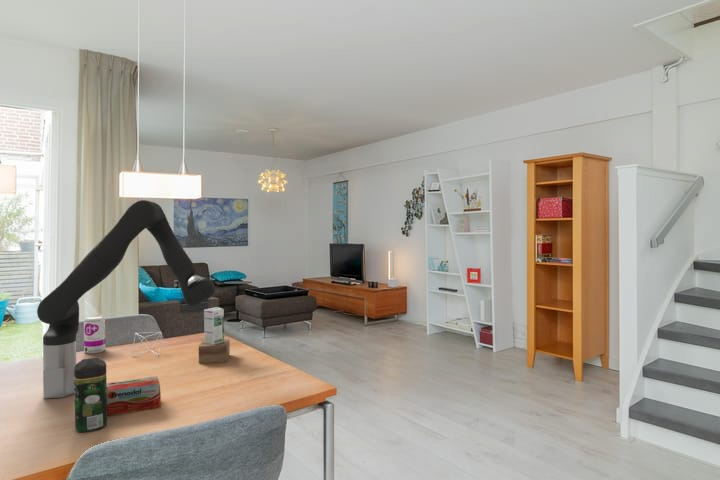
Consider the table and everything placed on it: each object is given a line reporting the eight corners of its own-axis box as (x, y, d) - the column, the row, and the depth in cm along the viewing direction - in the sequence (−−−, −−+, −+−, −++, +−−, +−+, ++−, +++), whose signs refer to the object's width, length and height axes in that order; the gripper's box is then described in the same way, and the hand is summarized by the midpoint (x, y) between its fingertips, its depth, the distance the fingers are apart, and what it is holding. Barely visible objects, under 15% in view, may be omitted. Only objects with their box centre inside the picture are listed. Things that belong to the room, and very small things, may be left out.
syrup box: (213, 345, 188) (213, 310, 188) (203, 343, 191) (203, 308, 191) (224, 342, 193) (224, 308, 193) (214, 340, 196) (214, 306, 196)
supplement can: (98, 353, 199) (98, 319, 198) (80, 353, 199) (79, 319, 199) (109, 348, 207) (108, 316, 207) (91, 348, 207) (90, 315, 207)
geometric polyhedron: (135, 359, 191) (136, 338, 191) (127, 354, 199) (127, 333, 199) (166, 354, 200) (166, 333, 199) (157, 349, 208) (157, 329, 207)
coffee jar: (74, 422, 130) (73, 358, 130) (106, 416, 134) (105, 354, 134) (74, 435, 122) (73, 367, 121) (108, 429, 126) (107, 362, 126)
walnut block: (226, 362, 188) (226, 345, 188) (198, 363, 186) (198, 346, 186) (229, 354, 199) (229, 338, 199) (203, 355, 197) (203, 339, 197)
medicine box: (158, 399, 148) (158, 375, 148) (161, 408, 141) (160, 382, 141) (105, 408, 141) (104, 382, 141) (105, 418, 134) (104, 391, 134)
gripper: (215, 275, 171) (211, 271, 186) (174, 276, 165) (173, 272, 180) (215, 295, 171) (211, 289, 186) (174, 297, 166) (173, 291, 180)
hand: (192, 281), depth 183 cm, fingers open, 8 cm apart
